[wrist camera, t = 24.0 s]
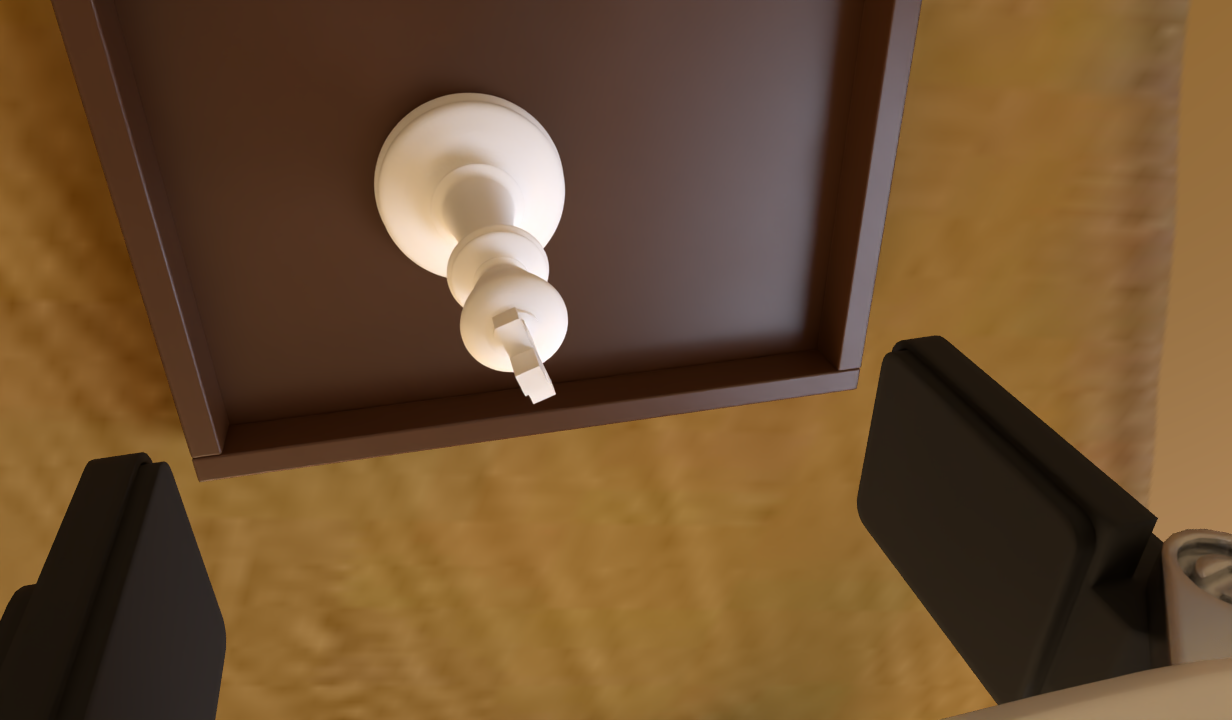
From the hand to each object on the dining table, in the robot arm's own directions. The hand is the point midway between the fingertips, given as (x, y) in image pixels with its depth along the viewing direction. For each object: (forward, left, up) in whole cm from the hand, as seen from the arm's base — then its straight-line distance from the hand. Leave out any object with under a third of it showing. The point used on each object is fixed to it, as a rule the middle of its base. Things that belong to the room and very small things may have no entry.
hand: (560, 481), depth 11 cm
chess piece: (0, 0, -13) cm, 13 cm away
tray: (+1, +2, -14) cm, 14 cm away
